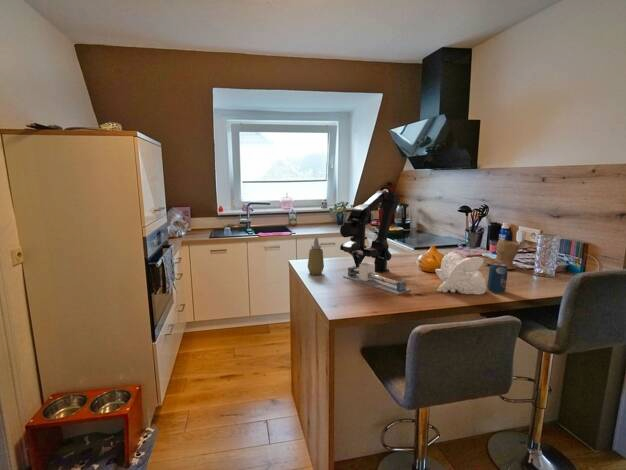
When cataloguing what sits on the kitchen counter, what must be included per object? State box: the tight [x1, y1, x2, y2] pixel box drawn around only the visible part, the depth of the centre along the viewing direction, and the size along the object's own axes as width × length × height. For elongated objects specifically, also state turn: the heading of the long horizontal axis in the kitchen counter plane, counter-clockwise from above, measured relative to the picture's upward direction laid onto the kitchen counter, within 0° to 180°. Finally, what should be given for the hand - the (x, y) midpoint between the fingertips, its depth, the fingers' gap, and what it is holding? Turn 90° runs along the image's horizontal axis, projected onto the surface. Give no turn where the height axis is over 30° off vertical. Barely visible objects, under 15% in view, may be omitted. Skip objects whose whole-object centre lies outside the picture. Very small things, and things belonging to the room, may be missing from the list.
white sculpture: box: [435, 251, 487, 295], centre depth 150 cm, size 19×20×20 cm
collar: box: [358, 261, 376, 281], centre depth 161 cm, size 4×6×7 cm, turn 131°
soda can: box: [486, 262, 509, 294], centre depth 149 cm, size 7×7×12 cm
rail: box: [347, 265, 407, 292], centre depth 158 cm, size 30×4×4 cm, turn 41°
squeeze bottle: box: [307, 236, 325, 276], centre depth 170 cm, size 8×8×18 cm
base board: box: [342, 274, 411, 296], centre depth 158 cm, size 31×9×1 cm, turn 41°
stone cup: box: [483, 238, 520, 270], centre depth 189 cm, size 15×12×15 cm
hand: (357, 267), depth 165 cm, fingers closed
